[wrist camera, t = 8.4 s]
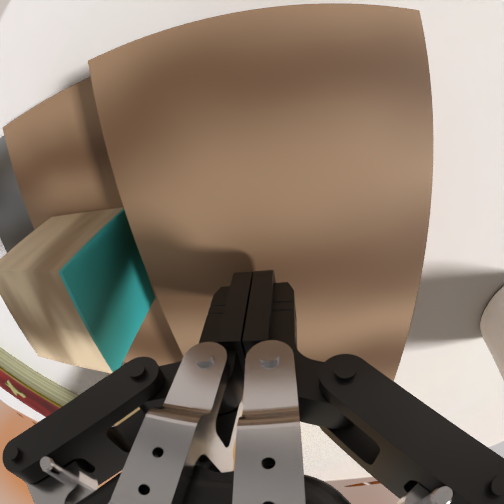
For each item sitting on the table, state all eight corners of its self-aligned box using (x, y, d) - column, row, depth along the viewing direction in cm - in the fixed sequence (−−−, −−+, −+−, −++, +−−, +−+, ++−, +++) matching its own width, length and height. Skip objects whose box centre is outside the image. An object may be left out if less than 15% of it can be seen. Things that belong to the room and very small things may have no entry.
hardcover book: (95, 423, 42) (88, 441, 38) (8, 372, 39) (-2, 387, 36) (90, 397, 36) (80, 419, 32) (-9, 337, 33) (-21, 353, 30)
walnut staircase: (-23, 156, 17) (-73, 183, 11) (370, 35, 12) (419, 10, 6) (52, 327, 27) (24, 369, 21) (372, 323, 22) (389, 391, 16)
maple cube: (127, 206, 15) (51, 216, 15) (61, 271, 9) (-12, 270, 10) (155, 298, 18) (82, 294, 18) (117, 374, 12) (38, 356, 13)
